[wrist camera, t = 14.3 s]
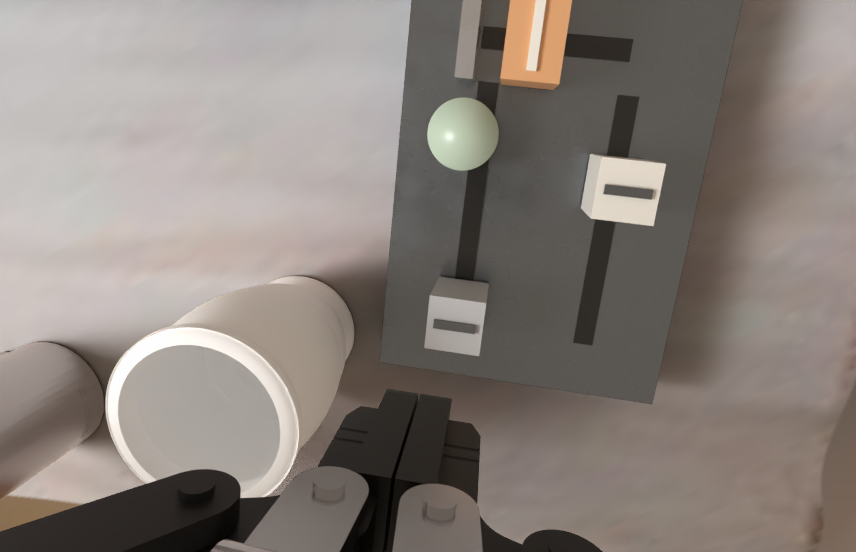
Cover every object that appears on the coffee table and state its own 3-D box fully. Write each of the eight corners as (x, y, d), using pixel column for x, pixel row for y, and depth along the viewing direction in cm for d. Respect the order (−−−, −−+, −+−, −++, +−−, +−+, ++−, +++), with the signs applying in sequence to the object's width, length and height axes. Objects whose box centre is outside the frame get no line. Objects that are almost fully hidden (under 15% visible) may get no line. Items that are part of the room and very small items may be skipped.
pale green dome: (428, 164, 35) (424, 166, 33) (435, 96, 34) (431, 93, 32) (494, 172, 34) (493, 174, 33) (503, 103, 33) (502, 101, 32)
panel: (391, 341, 43) (371, 376, 37) (427, -44, 36) (410, -80, 30) (638, 378, 41) (661, 422, 35) (724, -21, 34) (771, -55, 28)
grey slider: (433, 323, 37) (423, 349, 33) (439, 276, 37) (429, 296, 32) (482, 330, 37) (478, 357, 33) (489, 283, 36) (486, 304, 32)
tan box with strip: (501, 84, 33) (500, 78, 29) (513, -9, 32) (514, -30, 28) (553, 89, 33) (559, 83, 29) (567, -5, 32) (576, -25, 28)
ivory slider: (580, 208, 34) (591, 219, 30) (590, 153, 33) (602, 156, 29) (635, 214, 34) (654, 226, 30) (646, 159, 33) (667, 164, 29)
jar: (340, 243, 41) (249, 301, 27) (388, 371, 43) (328, 489, 29) (214, 285, 44) (68, 359, 29) (265, 405, 46) (152, 531, 31)
